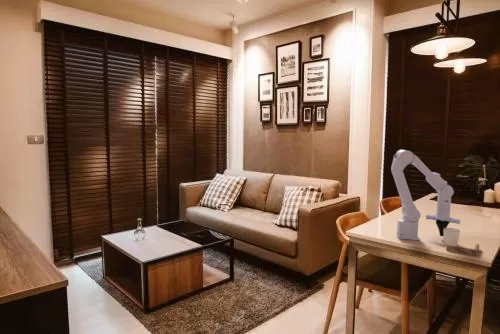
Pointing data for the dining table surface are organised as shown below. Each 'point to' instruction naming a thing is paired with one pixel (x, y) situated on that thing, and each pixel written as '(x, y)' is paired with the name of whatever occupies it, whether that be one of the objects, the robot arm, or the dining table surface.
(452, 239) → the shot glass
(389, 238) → the dining table surface
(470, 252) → the corner stop
